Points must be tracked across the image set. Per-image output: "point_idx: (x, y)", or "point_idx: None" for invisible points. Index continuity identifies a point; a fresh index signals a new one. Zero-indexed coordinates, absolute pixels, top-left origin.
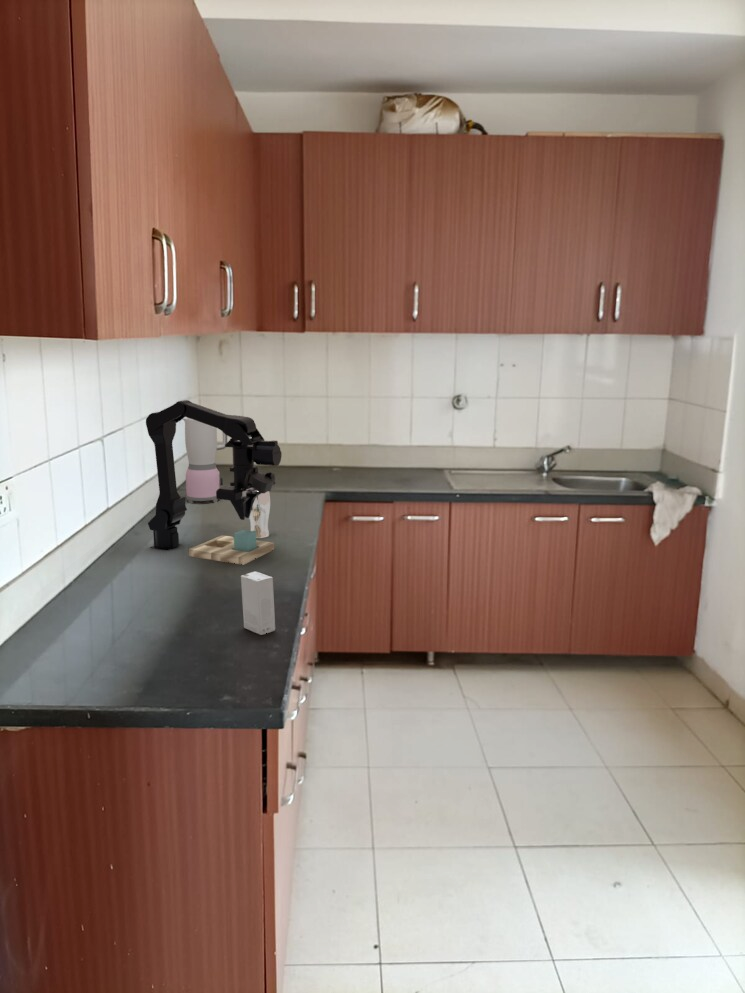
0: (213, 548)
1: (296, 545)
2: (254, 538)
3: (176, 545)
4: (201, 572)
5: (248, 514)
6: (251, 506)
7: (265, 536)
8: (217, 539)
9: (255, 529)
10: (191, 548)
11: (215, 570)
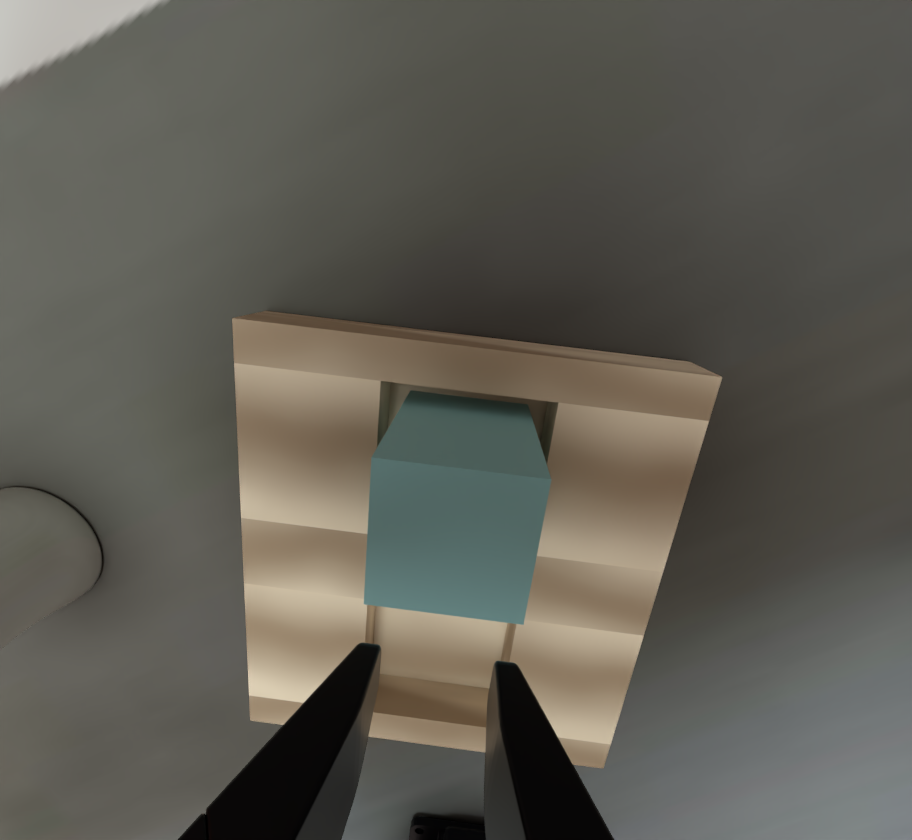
0: (545, 657)
1: (50, 205)
2: (420, 437)
3: (469, 837)
4: (856, 554)
5: (366, 690)
6: (257, 817)
7: (35, 501)
8: None
9: (34, 589)
10: (585, 761)
11: (804, 496)
